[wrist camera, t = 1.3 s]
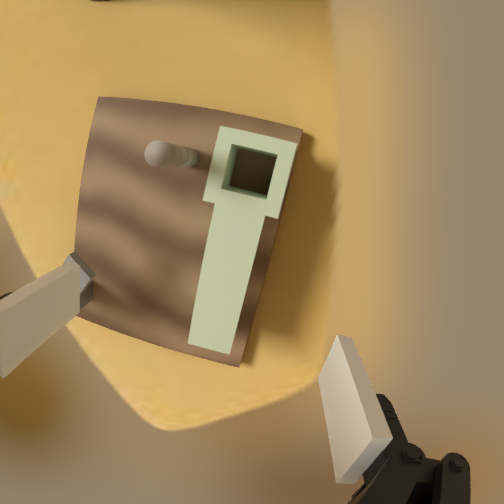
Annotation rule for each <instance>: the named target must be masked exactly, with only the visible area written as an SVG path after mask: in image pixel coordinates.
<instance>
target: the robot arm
mask: <svg viewBox="0 0 504 504" xmlns="http://www.w3.org/2000/svg"><path fill="white" fill-rule="evenodd" d="M92 1H105V0H92ZM78 313H80V265H77V264H74V263H71V262H68V263H66V264H64V265H62V266H60V267H58V268H56V269H55V270H53V271H51V272H49V273H47V274H45V275H43V276H42V277H40V278H38V279H36V280H34V281H32V282H31V283H29V284H27V285H25V286H24V287H22V288H20V289H18V290H17V291H14V292H11V293H7V294H4V295H3V296H1V297H0V376H1V377H3V378H4V377H6V376H7V375H8V374H9V373H10V372H11V371H12V370H13V369H15V368H16V367H17V366H18V365H19V364H20V363H21V362H22V361H23V360H25V359H26V358H27V357H28V356H29V355H30V354H31V353H32V352H34V351H35V350H36V349H37V348H38V347H39V346H40V345H42V344H43V343H44V342H45V341H46V340H47V339H49V338H50V337H51V336H52V335H53V334H54V333H56V332H57V331H58V330H59V329H60V328H62V327H63V326H64V325H65V324H66V323H67V322H69V321H70V320H71V319H72V318H74V317H75V316H76V315H77V314H78ZM318 381H319V386H320V391H321V396H322V402H323V407H324V413H325V418H326V424H327V430H328V435H329V441H330V447H331V453H332V459H333V465H334V471H335V478H336V483H356V482H357V481H358V479H360V477H361V476H362V475H363V478H364V482H365V483H364V484H363V485H362V486H361V487H360V489H358V490H357V491H356V492H355V493H354V494H353V495H352V499H351V500H350V501H349V502H348V504H470V467H469V463H468V462H467V460H466V459H465V458H464V457H463V456H462V455H460V454H457V453H448V454H447V455H446V456H445V457H444V458H443V459H442V460H441V461H439V460H434V459H429V458H426V457H425V454H424V453H423V451H422V450H421V449H420V448H419V447H417V446H416V445H414V444H411V443H408V441H407V438H406V436H405V434H404V431H403V429H402V427H401V424H400V422H399V420H398V417H397V415H396V413H395V410H394V408H393V406H392V404H391V402H390V401H389V400H388V399H387V398H386V397H385V395H383V394H375V391H374V389H373V386H372V384H371V382H370V379H369V377H368V374H367V372H366V369H365V367H364V365H363V362H362V360H361V358H360V356H359V353H358V351H357V348H356V346H355V344H354V342H353V339H352V337H348V336H343V335H337V336H336V339H335V341H334V344H333V346H332V349H331V351H330V353H329V355H328V357H327V360H326V362H325V364H324V366H323V369H322V371H321V373H320V375H319V377H318Z"/></svg>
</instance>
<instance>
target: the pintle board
mask: <svg viewBox="0 0 504 504" xmlns="http://www.w3.org/2000/svg"><path fill="white" fill-rule="evenodd" d="M220 126H224V127H229V128H234V129H239V130H243V131H248V132H252V133H257V134H261V135H265V136H270V137H274V138H278V139H282V140H286V141H289V142H293V143H297V146H296V150H295V154H294V158H293V162H292V166H291V170H290V174H289V178H288V182H287V186H286V189H285V193H284V197H283V201H282V205H281V209H280V213H279V216H278V219H276V218H272V217H269V216H265V219H264V222H263V226H262V230H261V234H260V238H259V242H258V246H257V250H256V254H255V258H254V262H253V266H252V270H251V274H250V277H249V281H248V285H247V289H246V293H245V297H244V301H243V305H242V309H241V313H240V316H239V320H238V324H237V328H236V332H235V336H234V340H233V344H232V348H231V351H230V354H225V353H221V352H218V351H214V350H210V349H206V348H202V347H199V346H195V345H191V344H188V338H189V332H190V326H191V321H192V315H193V309H194V304H195V299H196V293H197V288H198V283H199V277H200V272H201V267H202V262H203V257H204V252H205V247H206V242H207V238H208V233H209V228H210V223H211V219H212V214H213V210H214V205H215V203H211V202H207V201H203V196H204V192H205V187H206V183H207V178H208V174H209V169H210V165H211V161H212V157H213V152H214V148H215V144H216V140H217V136H218V132H219V128H220ZM302 131H303V129H299V128H296V127H292V126H288V125H284V124H280V123H276V122H272V121H267V120H263V119H259V118H254V117H250V116H245V115H240V114H235V113H230V112H225V111H219V110H214V109H208V108H202V107H195V106H189V105H182V104H175V103H167V102H159V101H149V100H139V99H128V98H114V97H98V101H97V105H96V108H95V113H94V117H93V121H92V125H91V130H90V135H89V139H88V144H87V150H86V155H85V161H84V167H83V173H82V180H81V187H80V194H79V203H78V212H77V223H76V235H75V252H73V253H71V254H69V256H68V257H67V259H66V260H65V262H64V264H66V263H68V262H71V263H74V264H77V265H80V313H78V314H77V315H76V316H78V317H80V318H83V319H85V320H88V321H90V322H93V323H95V324H98V325H101V326H103V327H106V328H109V329H111V330H114V331H117V332H120V333H123V334H125V335H128V336H131V337H134V338H137V339H140V340H143V341H146V342H149V343H152V344H155V345H158V346H162V347H165V348H168V349H172V350H175V351H178V352H182V353H185V354H189V355H192V356H196V357H199V358H203V359H207V360H211V361H214V362H218V363H222V364H226V365H230V366H235V367H240V363H241V360H242V356H243V353H244V349H245V345H246V342H247V338H248V335H249V331H250V328H251V324H252V321H253V317H254V313H255V310H256V306H257V303H258V299H259V295H260V292H261V288H262V284H263V281H264V277H265V273H266V270H267V266H268V262H269V259H270V255H271V251H272V247H273V244H274V240H275V236H276V232H277V229H278V225H279V221H280V217H281V213H282V210H283V206H284V202H285V198H286V194H287V190H288V187H289V183H290V179H291V175H292V171H293V167H294V163H295V159H296V155H297V151H298V147H299V143H300V139H301V135H302ZM276 158H277V157H273V156H269V155H265V154H261V153H256V152H252V151H248V150H243V149H239V148H238V152H237V156H236V160H235V165H234V169H233V173H232V177H231V181H230V186H232V187H237V188H241V189H245V190H249V191H253V192H257V193H261V194H265V195H267V194H268V190H269V186H270V182H271V178H272V174H273V170H274V166H275V162H276ZM64 264H63V265H64Z"/></svg>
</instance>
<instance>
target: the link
mask: <svg viewBox="0 0 504 504" xmlns="http://www.w3.org/2000/svg"><path fill="white" fill-rule="evenodd" d="M296 146H297V143H293V142H289V141H286V140H282V139H278V138H274V137H270V136H265V135H261V134H257V133H252V132H248V131H243V130H239V129H234V128H229V127H224V126H220V128H219V132H218V136H217V140H216V144H215V148H214V152H213V157H212V161H211V165H210V169H209V174H208V178H207V183H206V187H205V192H204V196H203V201H207V202H211V203H215V205H214V210H213V214H212V219H211V223H210V228H209V233H208V238H207V242H206V247H205V252H204V257H203V262H202V267H201V272H200V277H199V283H198V288H197V293H196V299H195V304H194V309H193V315H192V321H191V326H190V332H189V338H188V344H191V345H195V346H199V347H202V348H206V349H210V350H214V351H218V352H221V353H225V354H230V351H231V348H232V344H233V340H234V336H235V332H236V328H237V324H238V320H239V316H240V313H241V309H242V305H243V301H244V297H245V293H246V289H247V285H248V281H249V277H250V274H251V270H252V266H253V262H254V258H255V254H256V250H257V246H258V242H259V238H260V234H261V230H262V226H263V222H264V219H265V216H269V217H272V218H276V219H278V216H279V213H280V209H281V205H282V201H283V197H284V193H285V189H286V186H287V182H288V178H289V174H290V170H291V166H292V162H293V158H294V154H295V150H296ZM238 148H239V149H243V150H248V151H252V152H256V153H261V154H265V155H269V156H273V157H277V158H276V162H275V166H274V170H273V174H272V178H271V182H270V186H269V190H268V194H267V195H265V194H261V193H257V192H253V191H249V190H245V189H241V188H237V187H232V186H230V181H231V177H232V173H233V169H234V165H235V160H236V156H237V152H238Z"/></svg>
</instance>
